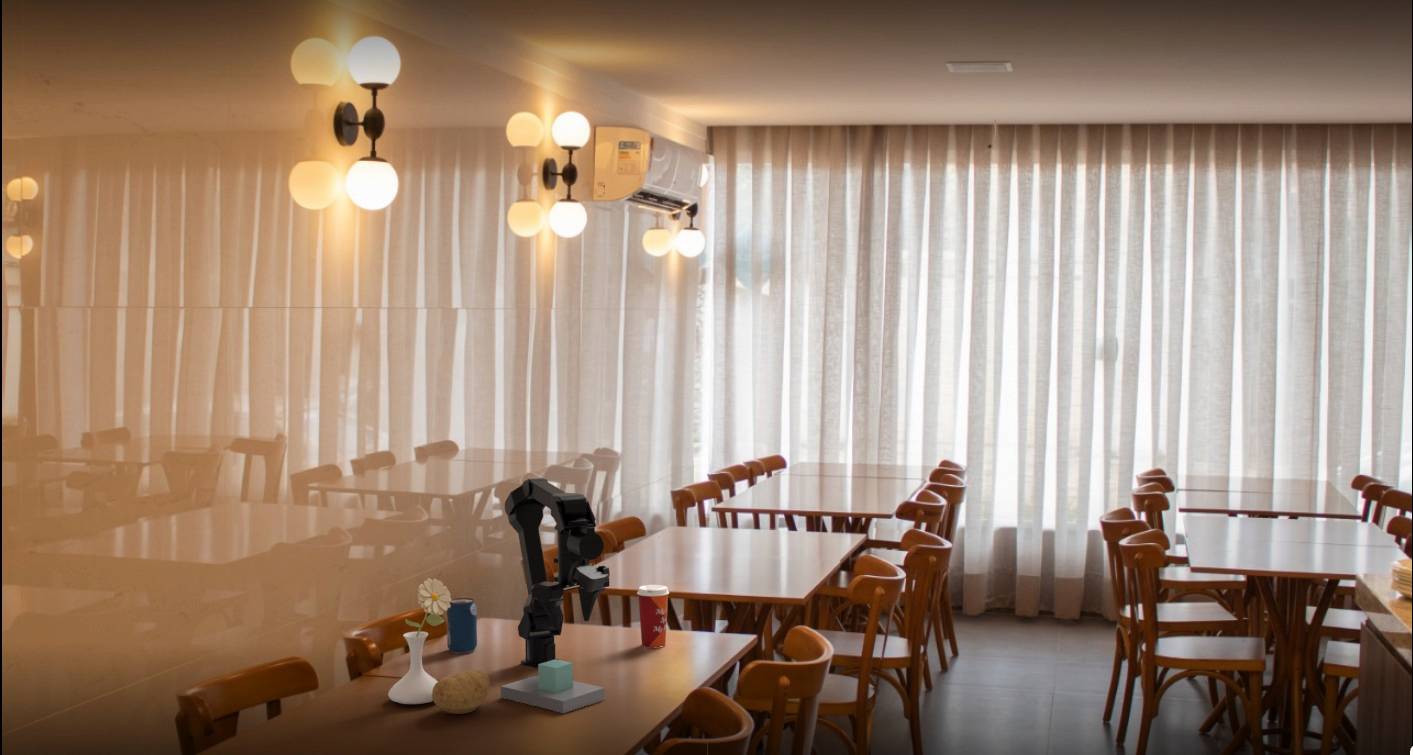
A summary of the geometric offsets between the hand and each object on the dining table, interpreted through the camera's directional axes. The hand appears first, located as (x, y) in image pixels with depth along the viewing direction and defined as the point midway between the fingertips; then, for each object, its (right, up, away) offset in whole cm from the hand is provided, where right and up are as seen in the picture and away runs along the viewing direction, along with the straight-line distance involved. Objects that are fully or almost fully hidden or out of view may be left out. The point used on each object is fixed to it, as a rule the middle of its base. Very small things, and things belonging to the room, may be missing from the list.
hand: (571, 624), depth 285 cm
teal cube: (-2, -10, -15) cm, 18 cm away
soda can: (-29, -11, +27) cm, 41 cm away
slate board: (-3, -13, -14) cm, 19 cm away
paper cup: (+16, -11, +31) cm, 37 cm away
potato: (-19, -13, -22) cm, 32 cm away
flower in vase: (-30, -13, -14) cm, 35 cm away
